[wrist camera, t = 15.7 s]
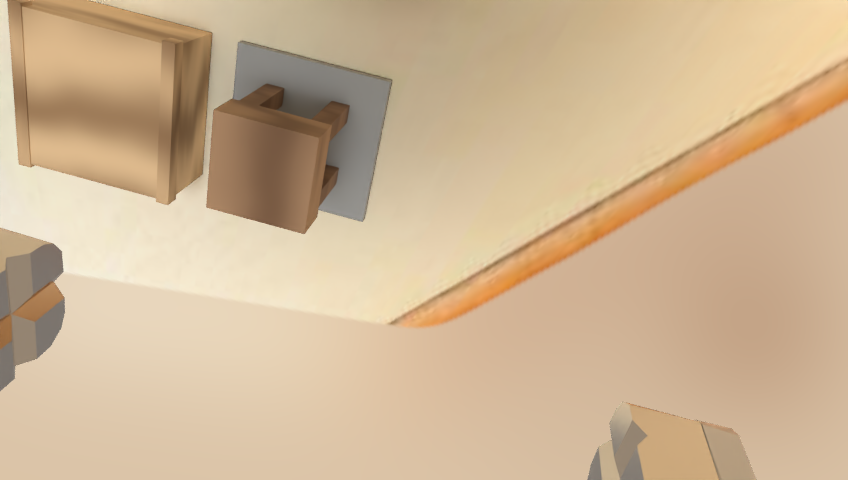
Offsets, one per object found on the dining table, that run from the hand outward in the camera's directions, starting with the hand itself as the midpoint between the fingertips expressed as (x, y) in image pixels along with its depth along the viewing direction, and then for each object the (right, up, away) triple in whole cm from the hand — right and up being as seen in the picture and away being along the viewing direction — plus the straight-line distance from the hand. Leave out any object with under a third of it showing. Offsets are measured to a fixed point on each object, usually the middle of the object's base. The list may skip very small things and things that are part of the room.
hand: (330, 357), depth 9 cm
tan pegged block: (-7, +9, +35) cm, 36 cm away
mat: (-7, +9, +35) cm, 37 cm away
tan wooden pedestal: (-18, +12, +36) cm, 42 cm away
